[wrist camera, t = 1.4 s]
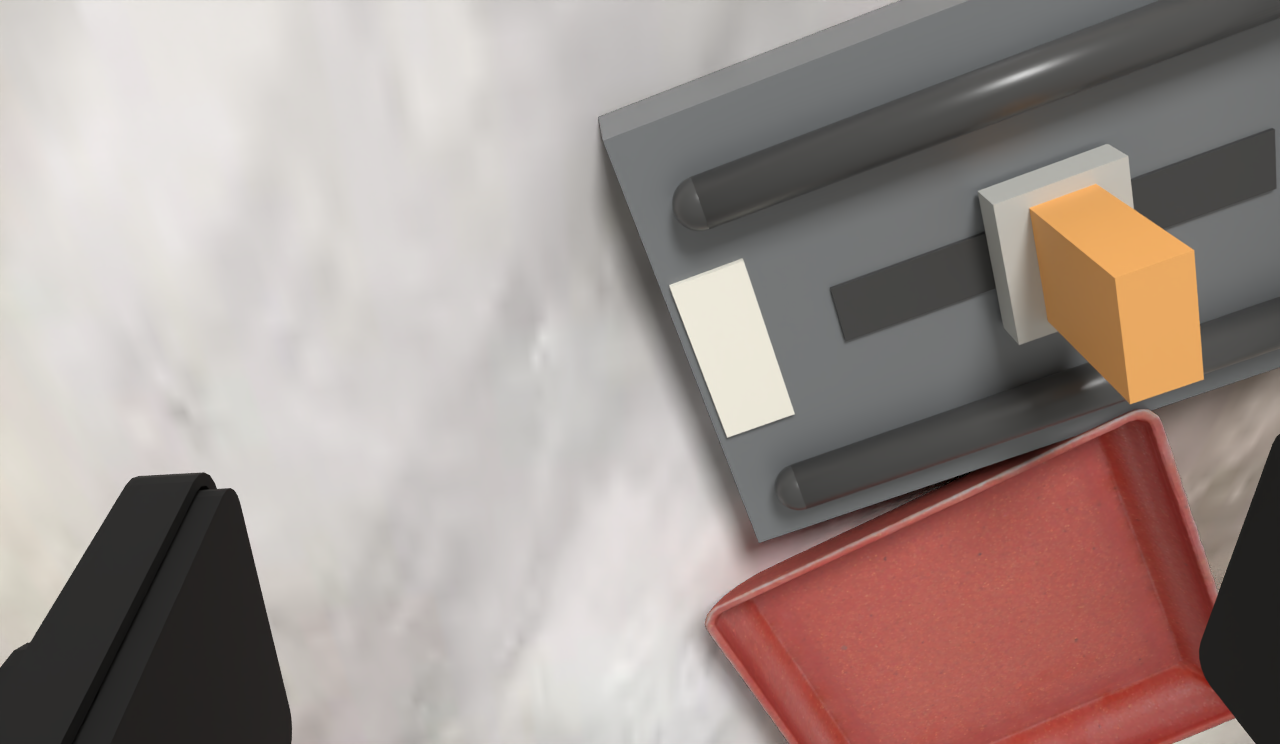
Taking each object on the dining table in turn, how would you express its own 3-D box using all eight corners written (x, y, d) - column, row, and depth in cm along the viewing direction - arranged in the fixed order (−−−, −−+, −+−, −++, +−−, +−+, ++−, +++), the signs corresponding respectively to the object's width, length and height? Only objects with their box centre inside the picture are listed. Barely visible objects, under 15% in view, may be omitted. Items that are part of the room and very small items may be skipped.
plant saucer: (685, 564, 40) (697, 622, 37) (1111, 358, 37) (1159, 404, 34) (855, 804, 49) (875, 866, 46) (1214, 653, 46) (1259, 709, 43)
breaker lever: (1107, 143, 30) (1233, 218, 24) (1124, 285, 32) (1241, 381, 27) (977, 191, 30) (1073, 275, 25) (1003, 327, 33) (1095, 431, 27)
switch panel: (1384, -187, 28) (1505, -186, 25) (1371, 287, 36) (1461, 339, 33) (598, 117, 31) (606, 157, 27) (746, 501, 38) (767, 572, 35)
